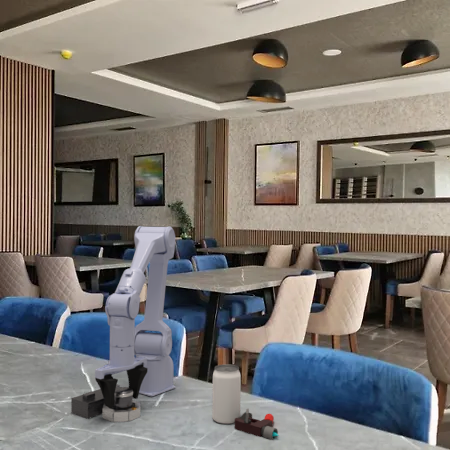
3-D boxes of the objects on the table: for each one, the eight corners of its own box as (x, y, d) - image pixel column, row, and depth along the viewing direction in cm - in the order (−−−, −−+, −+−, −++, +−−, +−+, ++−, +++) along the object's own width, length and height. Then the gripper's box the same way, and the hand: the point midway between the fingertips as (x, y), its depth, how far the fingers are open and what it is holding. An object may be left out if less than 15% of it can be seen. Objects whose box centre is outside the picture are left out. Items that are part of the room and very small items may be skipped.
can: (224, 412, 129) (224, 362, 129) (245, 418, 125) (246, 367, 125) (206, 419, 124) (207, 368, 124) (228, 427, 120) (228, 373, 120)
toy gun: (275, 444, 112) (275, 421, 112) (228, 430, 119) (228, 408, 119) (297, 429, 120) (297, 407, 120) (252, 417, 127) (252, 396, 127)
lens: (128, 410, 130) (128, 385, 130) (136, 416, 126) (136, 390, 126) (110, 414, 127) (110, 389, 127) (118, 420, 123) (118, 394, 123)
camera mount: (113, 398, 138) (113, 380, 138) (155, 411, 129) (155, 392, 129) (71, 412, 128) (71, 393, 128) (113, 428, 119) (113, 407, 119)
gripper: (133, 336, 135) (132, 390, 135) (86, 347, 123) (86, 406, 123) (153, 340, 131) (152, 396, 131) (107, 352, 119) (106, 413, 119)
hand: (121, 402), depth 127 cm, fingers open, 7 cm apart
